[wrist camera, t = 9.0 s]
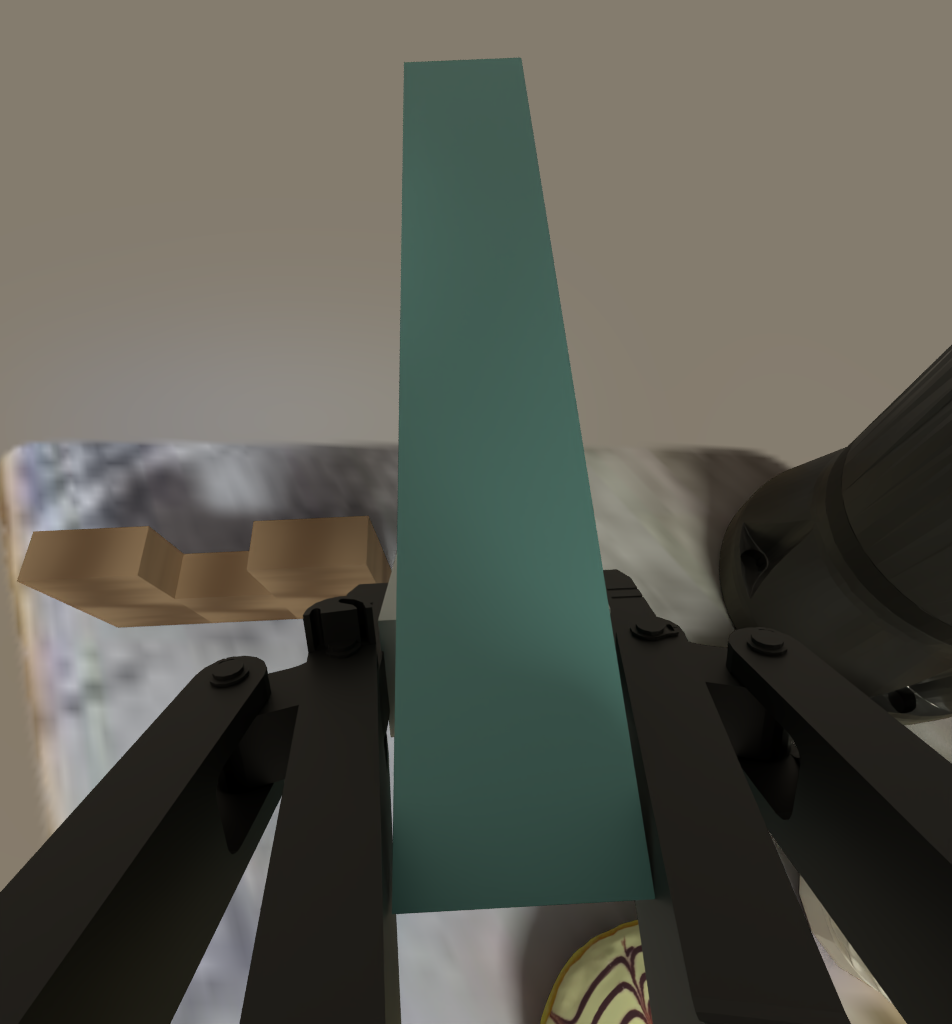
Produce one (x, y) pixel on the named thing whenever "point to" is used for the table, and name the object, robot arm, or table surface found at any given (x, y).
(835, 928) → the white cup
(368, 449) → the table surface
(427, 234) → the teal upright panel
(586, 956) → the decorated donut
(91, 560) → the walnut slotted plate
